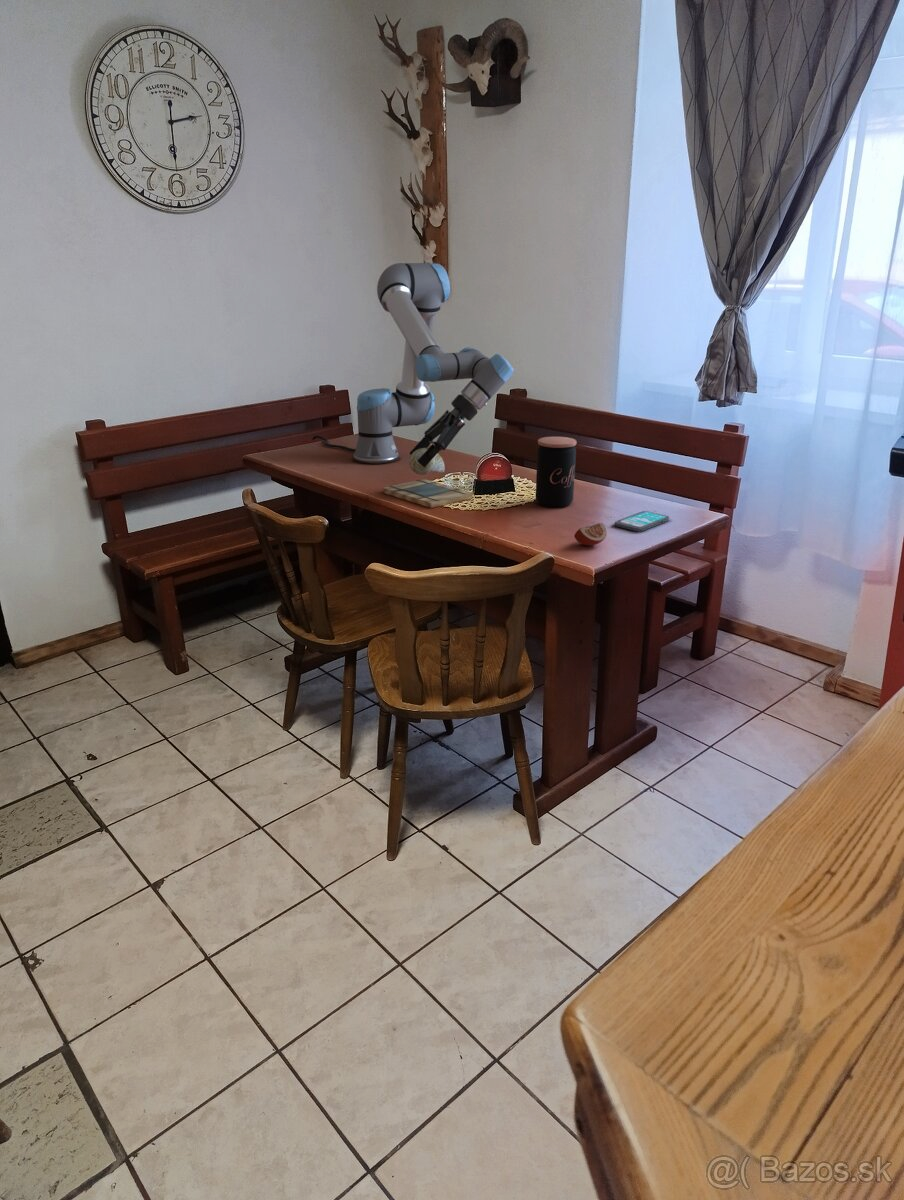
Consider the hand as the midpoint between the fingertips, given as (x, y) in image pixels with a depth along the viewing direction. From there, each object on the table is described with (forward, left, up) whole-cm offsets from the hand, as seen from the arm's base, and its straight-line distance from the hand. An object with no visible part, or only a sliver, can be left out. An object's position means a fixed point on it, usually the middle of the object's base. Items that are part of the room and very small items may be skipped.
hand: (416, 460), depth 235 cm
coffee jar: (+32, +24, -11) cm, 42 cm away
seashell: (+1, +3, -4) cm, 5 cm away
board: (+1, +3, -11) cm, 11 cm away
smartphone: (+60, +27, -11) cm, 67 cm away
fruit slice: (+62, +3, -11) cm, 63 cm away
